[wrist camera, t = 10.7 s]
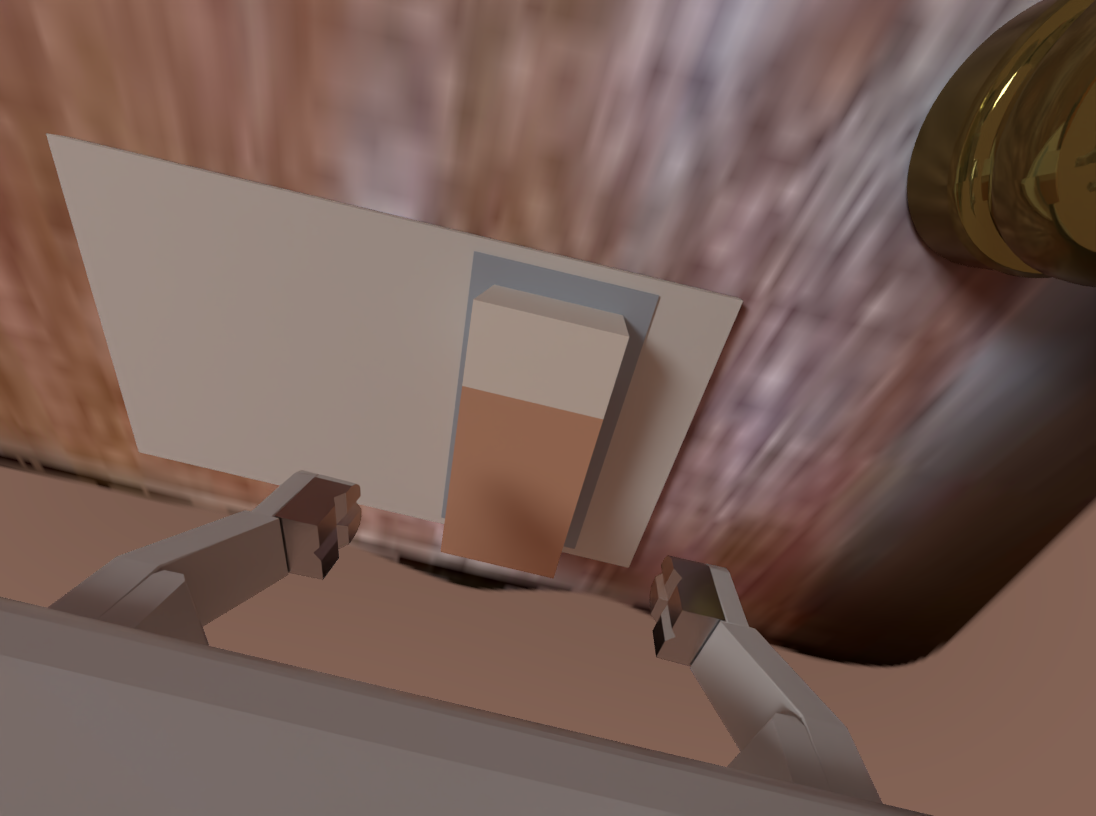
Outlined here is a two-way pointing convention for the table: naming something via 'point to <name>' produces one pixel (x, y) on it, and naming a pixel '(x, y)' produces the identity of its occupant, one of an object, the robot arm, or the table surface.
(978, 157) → the olive green vase
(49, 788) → the robot arm
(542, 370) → the two-tone tall block
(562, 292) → the mat
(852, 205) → the table surface
